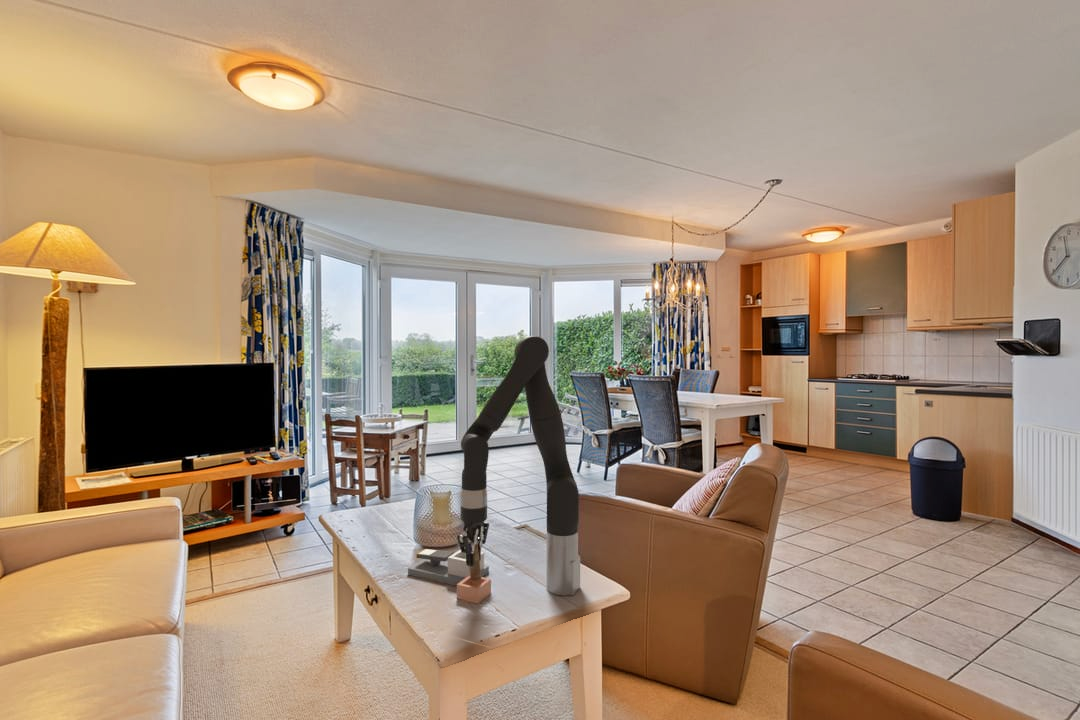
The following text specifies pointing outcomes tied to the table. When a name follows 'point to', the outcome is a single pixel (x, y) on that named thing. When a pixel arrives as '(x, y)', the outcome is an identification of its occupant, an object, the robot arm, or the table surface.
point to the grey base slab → (446, 569)
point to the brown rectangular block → (475, 565)
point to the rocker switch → (434, 555)
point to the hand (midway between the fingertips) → (473, 562)
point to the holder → (473, 589)
